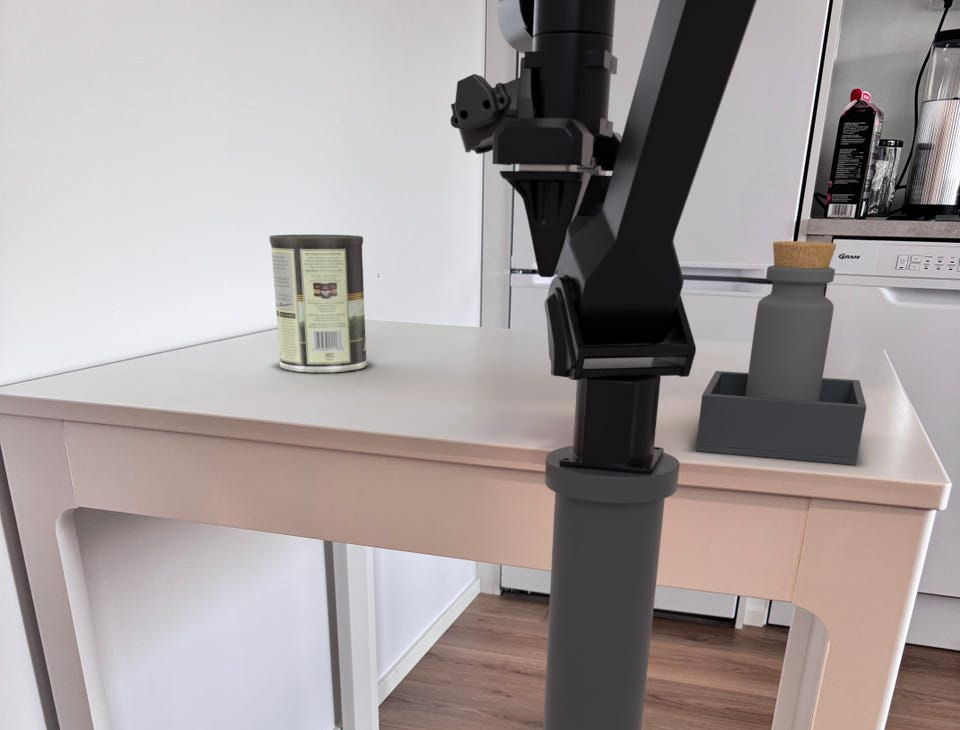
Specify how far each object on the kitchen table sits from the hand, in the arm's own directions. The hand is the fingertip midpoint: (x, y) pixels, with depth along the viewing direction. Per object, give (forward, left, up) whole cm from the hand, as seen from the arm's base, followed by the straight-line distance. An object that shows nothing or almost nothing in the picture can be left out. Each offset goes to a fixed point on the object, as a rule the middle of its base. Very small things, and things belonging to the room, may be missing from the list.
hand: (561, 272), depth 74 cm
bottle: (+6, -18, -13) cm, 23 cm away
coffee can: (+26, +34, -13) cm, 45 cm away
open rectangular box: (+6, -18, -13) cm, 23 cm away
